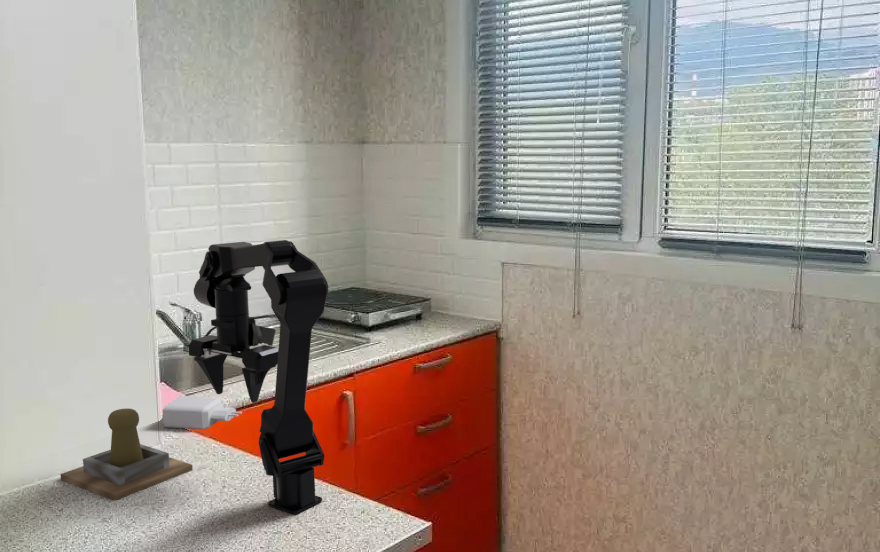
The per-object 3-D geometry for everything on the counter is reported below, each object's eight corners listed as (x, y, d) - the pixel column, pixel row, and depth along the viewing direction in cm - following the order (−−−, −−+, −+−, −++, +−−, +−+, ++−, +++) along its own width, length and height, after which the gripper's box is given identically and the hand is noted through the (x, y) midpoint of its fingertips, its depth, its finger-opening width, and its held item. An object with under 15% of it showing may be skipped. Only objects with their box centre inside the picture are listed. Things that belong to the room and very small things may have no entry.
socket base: (192, 469, 159) (191, 451, 158) (114, 500, 146) (113, 480, 145) (138, 452, 168) (137, 434, 167) (60, 479, 155) (59, 460, 154)
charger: (231, 432, 179) (163, 429, 182) (249, 418, 188) (184, 415, 190) (230, 410, 178) (161, 407, 181) (248, 397, 187) (182, 394, 190)
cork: (144, 461, 160) (140, 403, 159) (145, 473, 155) (141, 413, 153) (109, 465, 158) (105, 407, 157) (108, 478, 153) (104, 417, 151)
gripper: (302, 311, 156) (305, 395, 159) (231, 300, 167) (236, 379, 170) (255, 322, 147) (260, 411, 150) (184, 310, 158) (189, 393, 161)
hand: (236, 397), depth 158 cm, fingers open, 9 cm apart
